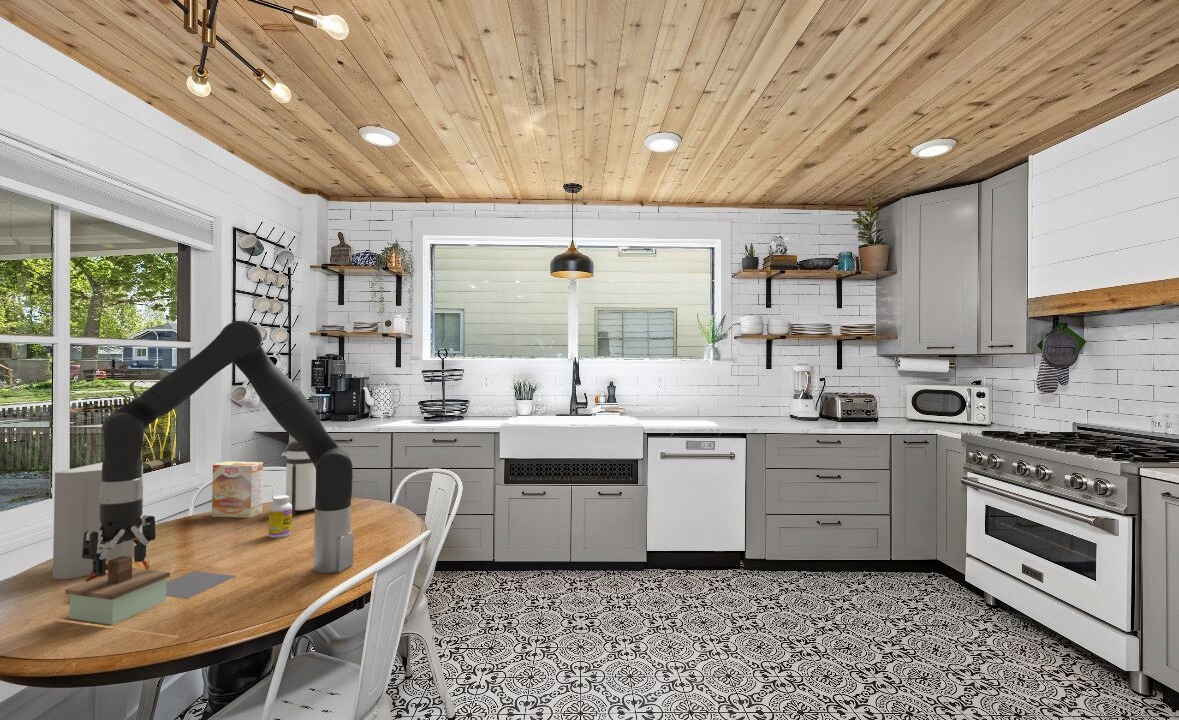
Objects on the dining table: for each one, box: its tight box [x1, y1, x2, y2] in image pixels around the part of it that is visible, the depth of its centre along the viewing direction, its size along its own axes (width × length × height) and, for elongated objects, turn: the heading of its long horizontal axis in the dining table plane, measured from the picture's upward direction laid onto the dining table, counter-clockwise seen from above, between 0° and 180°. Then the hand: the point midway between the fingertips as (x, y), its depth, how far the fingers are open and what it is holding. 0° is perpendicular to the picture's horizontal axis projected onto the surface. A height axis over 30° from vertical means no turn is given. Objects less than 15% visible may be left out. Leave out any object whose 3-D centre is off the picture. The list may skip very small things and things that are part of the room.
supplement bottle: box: [268, 494, 293, 539], centre depth 177 cm, size 7×7×13 cm
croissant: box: [84, 558, 152, 583], centre depth 138 cm, size 21×10×8 cm, turn 4°
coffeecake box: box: [211, 460, 264, 519], centre depth 199 cm, size 15×7×20 cm, turn 88°
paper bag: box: [52, 461, 144, 580], centre depth 150 cm, size 19×15×28 cm
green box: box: [69, 578, 167, 627], centre depth 123 cm, size 12×12×6 cm
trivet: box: [166, 570, 237, 600], centre depth 137 cm, size 14×14×1 cm
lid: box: [64, 556, 171, 600], centre depth 123 cm, size 13×13×6 cm
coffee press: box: [281, 439, 316, 517], centre depth 207 cm, size 17×16×30 cm
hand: (120, 568), depth 123 cm, fingers open, 8 cm apart
